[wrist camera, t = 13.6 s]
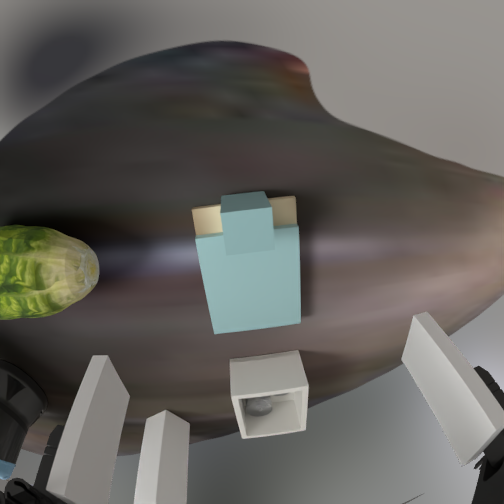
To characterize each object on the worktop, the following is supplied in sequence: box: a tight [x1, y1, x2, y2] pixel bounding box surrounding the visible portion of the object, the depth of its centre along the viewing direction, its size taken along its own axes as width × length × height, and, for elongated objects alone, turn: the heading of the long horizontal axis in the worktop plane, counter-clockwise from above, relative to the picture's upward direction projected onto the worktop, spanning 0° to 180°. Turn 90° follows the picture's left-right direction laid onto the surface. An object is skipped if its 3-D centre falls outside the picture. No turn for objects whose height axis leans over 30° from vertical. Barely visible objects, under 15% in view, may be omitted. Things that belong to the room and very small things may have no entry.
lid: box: [195, 191, 301, 334], centre depth 32 cm, size 11×17×6 cm, turn 5°
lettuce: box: [0, 224, 99, 319], centre depth 27 cm, size 12×21×11 cm, turn 91°
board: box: [192, 196, 297, 235], centre depth 35 cm, size 11×15×1 cm
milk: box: [134, 410, 190, 504], centre depth 38 cm, size 6×6×22 cm
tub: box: [230, 350, 309, 439], centre depth 41 cm, size 10×12×7 cm
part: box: [245, 395, 272, 417], centre depth 43 cm, size 4×4×3 cm
